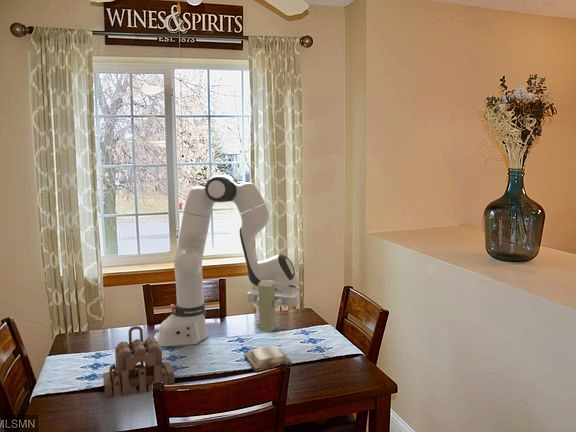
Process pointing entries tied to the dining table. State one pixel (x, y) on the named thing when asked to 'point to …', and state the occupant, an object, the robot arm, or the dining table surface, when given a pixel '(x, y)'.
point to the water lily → (257, 318)
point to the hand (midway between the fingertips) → (266, 303)
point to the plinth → (266, 366)
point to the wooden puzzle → (137, 367)
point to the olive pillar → (266, 305)
